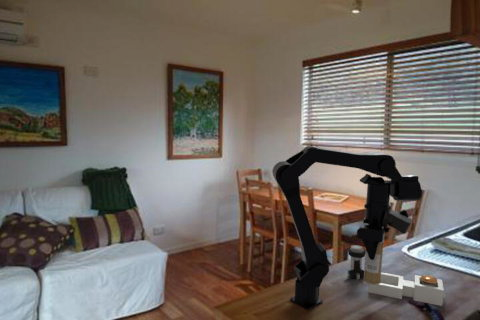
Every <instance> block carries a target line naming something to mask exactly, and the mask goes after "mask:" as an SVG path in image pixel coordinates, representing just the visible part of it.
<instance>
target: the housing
mask: <svg viewBox="0 0 480 320" xmlns="http://www.w3.org/2000/svg"><path fill="white" fill-rule="evenodd" d="M421 276H422V275H417V274H414V279H413V280H414V281H413V280H408V279H407V280H406V279H404V276H403V275H398V274H393V273H386V272H382V271H381V279H380V280H381V283H380V284H377V285H374V284H369V283H368V293H369V294H375V295H379V296H385V297H390V298H395V299H400V300H402V299H403V296H404V297H408V298H411V299H412V298H413V301H414V302H415V301H416V302H421V303H426V304H430V305H434V306H435V305H436V306H440V307H443V303H444V291H445V290H444V284H443V280H442V279H440V278H436V279H437V283H436V287H433V286H428V285H423V284H421Z"/></svg>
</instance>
